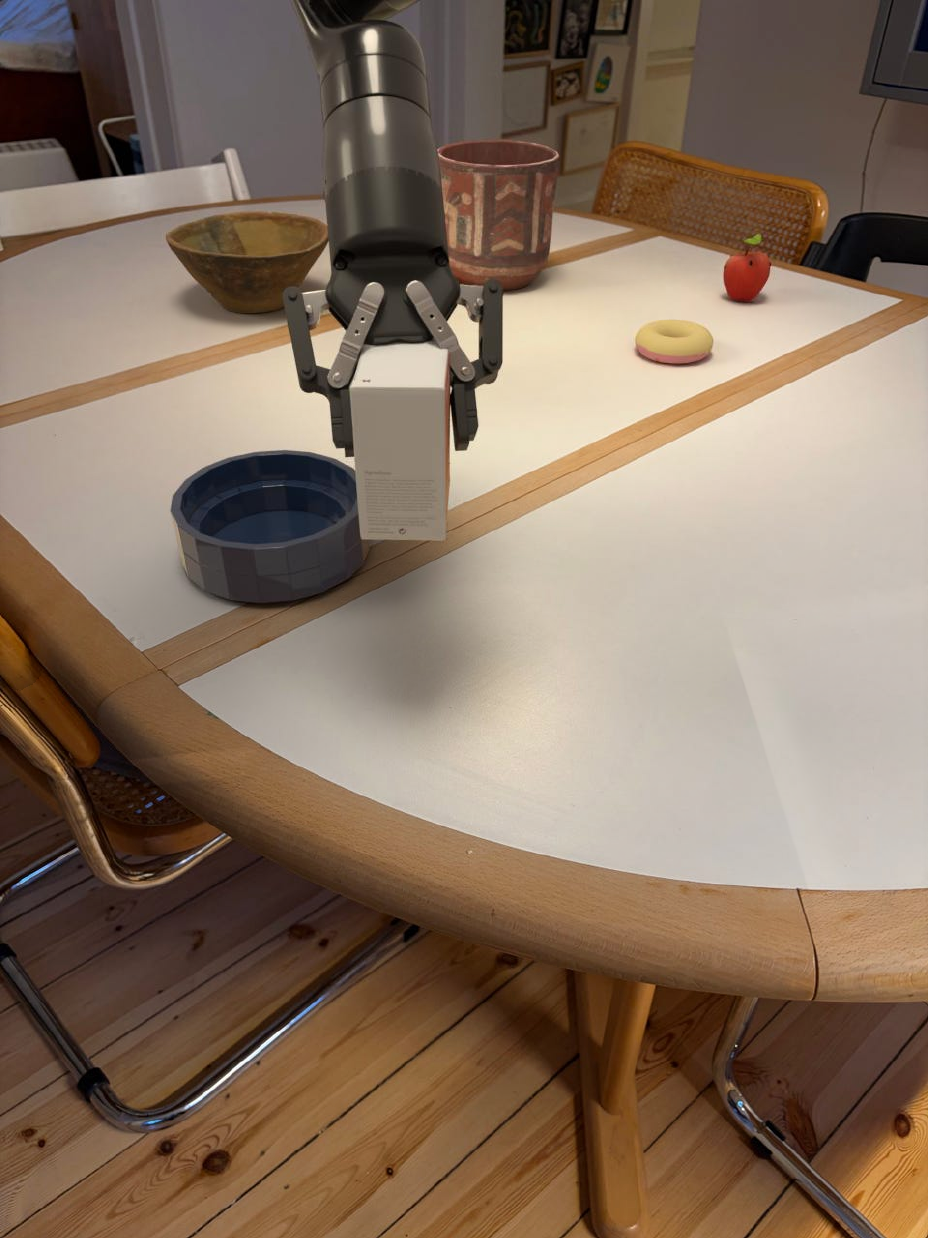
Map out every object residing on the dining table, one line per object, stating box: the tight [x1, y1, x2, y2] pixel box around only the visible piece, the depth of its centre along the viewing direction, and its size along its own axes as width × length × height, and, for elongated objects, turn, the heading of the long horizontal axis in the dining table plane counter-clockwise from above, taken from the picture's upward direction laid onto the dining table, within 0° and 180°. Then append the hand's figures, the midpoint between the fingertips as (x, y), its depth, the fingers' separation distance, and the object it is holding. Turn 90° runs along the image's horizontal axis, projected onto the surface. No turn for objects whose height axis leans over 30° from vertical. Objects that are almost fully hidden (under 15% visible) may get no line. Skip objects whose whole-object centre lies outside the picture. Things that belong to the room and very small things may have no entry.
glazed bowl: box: [169, 449, 371, 604], centre depth 83 cm, size 17×17×6 cm
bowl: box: [165, 211, 329, 314], centre depth 132 cm, size 22×23×10 cm
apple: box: [722, 233, 772, 303], centre depth 135 cm, size 8×7×10 cm
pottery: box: [437, 139, 561, 292], centre depth 139 cm, size 18×18×18 cm
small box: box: [349, 339, 451, 541], centre depth 59 cm, size 8×6×10 cm
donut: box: [634, 319, 714, 365], centre depth 121 cm, size 10×5×9 cm
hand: (407, 449), depth 58 cm, fingers closed on small box, 6 cm apart
